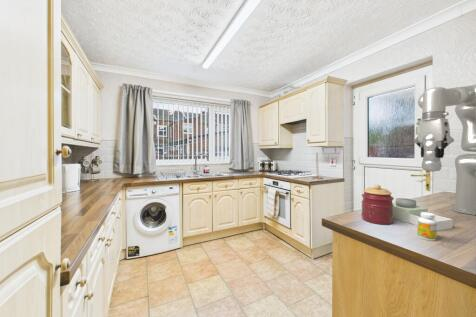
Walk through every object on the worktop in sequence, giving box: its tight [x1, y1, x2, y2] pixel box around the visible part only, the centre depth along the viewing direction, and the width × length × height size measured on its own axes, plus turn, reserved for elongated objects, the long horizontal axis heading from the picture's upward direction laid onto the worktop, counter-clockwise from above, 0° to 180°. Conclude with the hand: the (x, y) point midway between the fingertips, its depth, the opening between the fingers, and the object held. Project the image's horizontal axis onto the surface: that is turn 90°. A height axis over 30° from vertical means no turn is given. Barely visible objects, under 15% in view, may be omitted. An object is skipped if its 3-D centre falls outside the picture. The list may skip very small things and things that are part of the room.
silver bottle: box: [421, 134, 443, 173], centre depth 93 cm, size 6×7×20 cm
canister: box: [360, 184, 394, 225], centre depth 101 cm, size 13×13×18 cm
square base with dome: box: [392, 197, 454, 232], centre depth 100 cm, size 12×22×9 cm, turn 15°
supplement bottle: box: [417, 212, 437, 242], centre depth 81 cm, size 5×5×10 cm
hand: (431, 157), depth 93 cm, fingers closed on silver bottle, 5 cm apart
